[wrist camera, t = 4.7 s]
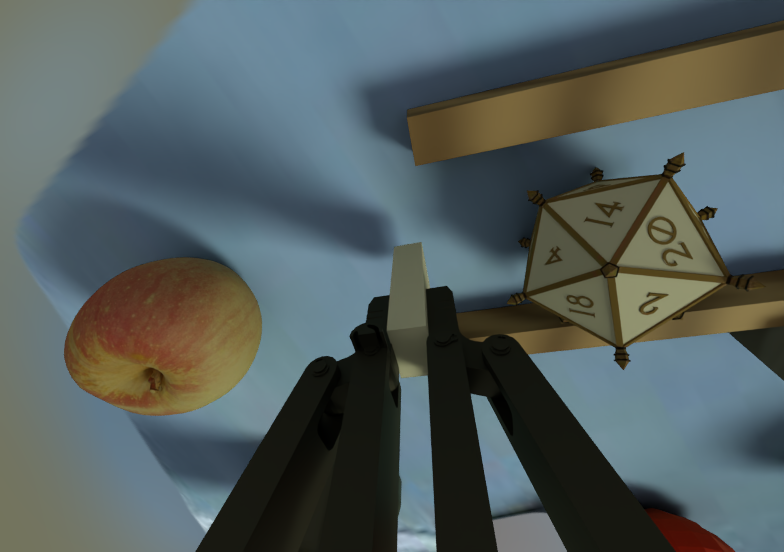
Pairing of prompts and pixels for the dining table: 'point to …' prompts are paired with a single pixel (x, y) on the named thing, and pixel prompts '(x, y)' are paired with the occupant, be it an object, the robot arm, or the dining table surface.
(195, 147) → the dining table surface
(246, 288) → the apple
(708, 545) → the tomato
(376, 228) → the dining table surface
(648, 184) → the game die
